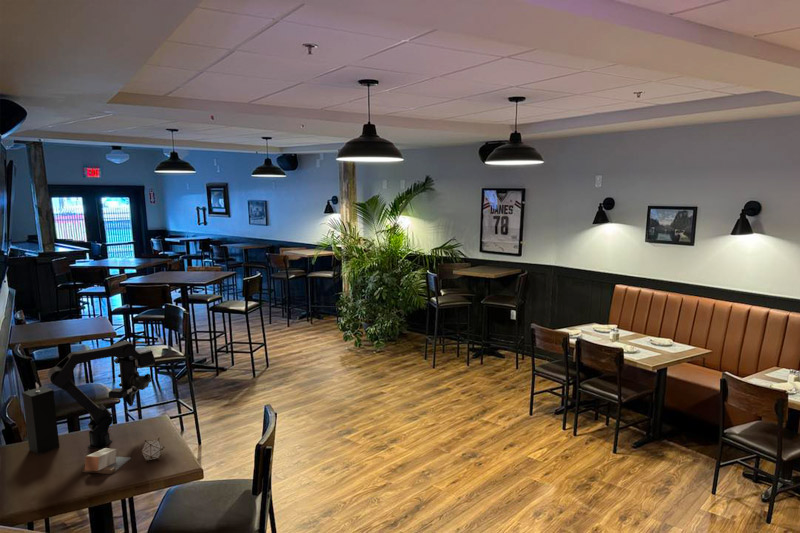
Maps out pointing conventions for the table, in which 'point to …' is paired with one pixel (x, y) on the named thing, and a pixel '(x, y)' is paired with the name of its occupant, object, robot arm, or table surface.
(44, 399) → the tall black block
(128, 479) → the table surface
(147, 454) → the game die
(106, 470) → the stop rail
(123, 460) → the mat
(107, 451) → the marked block
